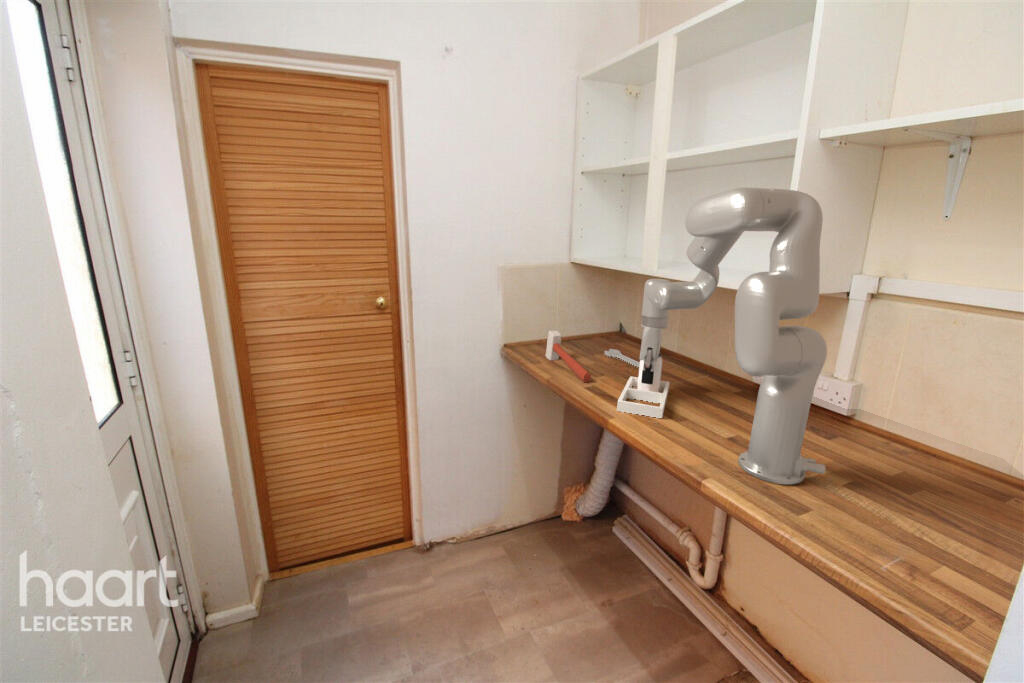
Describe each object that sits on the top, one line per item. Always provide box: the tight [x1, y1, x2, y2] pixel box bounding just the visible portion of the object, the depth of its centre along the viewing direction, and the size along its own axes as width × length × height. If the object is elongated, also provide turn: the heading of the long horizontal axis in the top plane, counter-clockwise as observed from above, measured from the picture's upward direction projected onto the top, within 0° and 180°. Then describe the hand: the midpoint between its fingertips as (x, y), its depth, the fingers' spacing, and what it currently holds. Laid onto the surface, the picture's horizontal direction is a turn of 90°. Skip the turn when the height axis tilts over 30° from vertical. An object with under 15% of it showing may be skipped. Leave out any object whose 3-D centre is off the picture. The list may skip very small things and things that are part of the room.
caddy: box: [616, 376, 670, 419], centre depth 137 cm, size 12×23×3 cm, turn 158°
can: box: [637, 353, 663, 393], centre depth 142 cm, size 6×6×12 cm
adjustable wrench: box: [604, 348, 640, 368], centre depth 174 cm, size 25×6×2 cm, turn 20°
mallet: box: [544, 330, 592, 384], centre depth 163 cm, size 11×4×30 cm
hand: (648, 379), depth 140 cm, fingers open, 6 cm apart
